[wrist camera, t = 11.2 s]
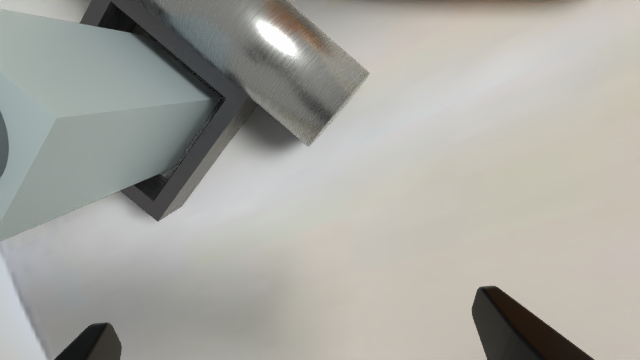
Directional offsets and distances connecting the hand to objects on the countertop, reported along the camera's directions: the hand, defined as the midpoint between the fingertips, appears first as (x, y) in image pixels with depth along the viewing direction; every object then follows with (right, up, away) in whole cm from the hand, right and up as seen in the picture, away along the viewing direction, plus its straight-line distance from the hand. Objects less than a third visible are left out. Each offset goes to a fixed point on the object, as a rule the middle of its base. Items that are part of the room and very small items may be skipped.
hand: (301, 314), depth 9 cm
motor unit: (-6, +8, +11) cm, 15 cm away
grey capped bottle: (-9, +8, +12) cm, 17 cm away
